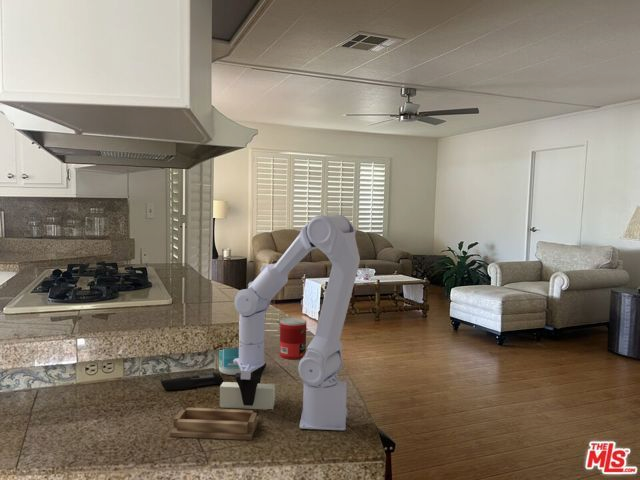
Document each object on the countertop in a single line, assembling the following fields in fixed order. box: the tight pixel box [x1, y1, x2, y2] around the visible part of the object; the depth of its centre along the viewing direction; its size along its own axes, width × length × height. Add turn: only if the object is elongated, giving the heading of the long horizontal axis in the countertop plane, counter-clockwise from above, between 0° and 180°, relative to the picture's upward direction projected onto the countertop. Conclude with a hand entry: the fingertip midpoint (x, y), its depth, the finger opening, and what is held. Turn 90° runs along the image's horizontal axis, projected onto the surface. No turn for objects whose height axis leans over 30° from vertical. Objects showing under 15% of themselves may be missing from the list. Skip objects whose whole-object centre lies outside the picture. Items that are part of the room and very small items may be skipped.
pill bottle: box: [218, 348, 241, 376], centre depth 138 cm, size 8×7×14 cm
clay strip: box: [219, 381, 276, 411], centre depth 115 cm, size 12×3×5 cm, turn 87°
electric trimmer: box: [160, 371, 225, 391], centre depth 126 cm, size 4×16×3 cm, turn 117°
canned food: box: [279, 317, 307, 360], centre depth 153 cm, size 8×8×11 cm
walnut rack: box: [169, 407, 259, 441], centre depth 103 cm, size 16×9×3 cm, turn 88°
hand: (250, 399), depth 115 cm, fingers open, 5 cm apart
